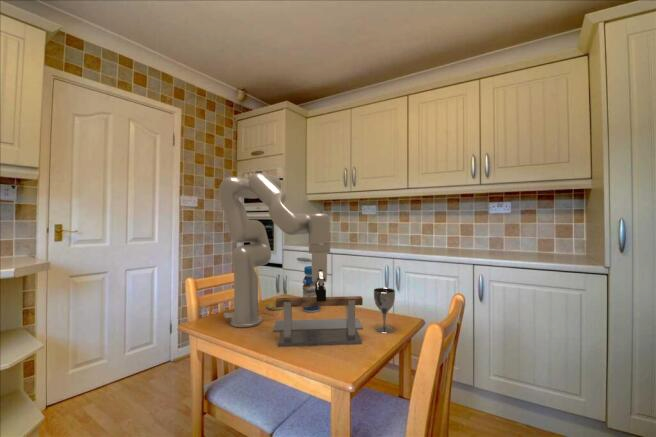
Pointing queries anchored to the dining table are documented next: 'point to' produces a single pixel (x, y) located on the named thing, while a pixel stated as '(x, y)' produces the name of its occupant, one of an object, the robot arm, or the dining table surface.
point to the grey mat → (316, 325)
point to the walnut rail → (313, 302)
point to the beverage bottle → (309, 289)
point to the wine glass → (384, 305)
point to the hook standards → (319, 336)
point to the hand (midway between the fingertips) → (320, 297)
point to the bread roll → (273, 305)
